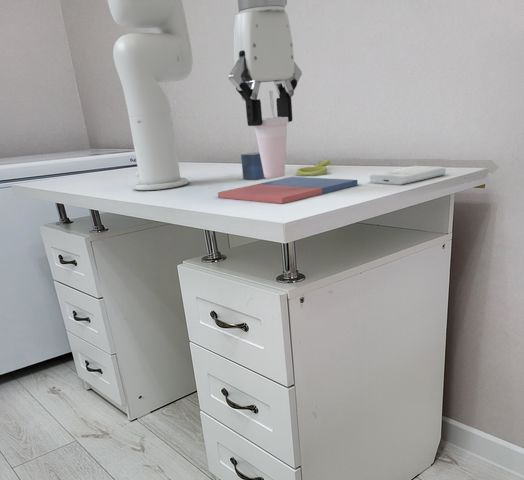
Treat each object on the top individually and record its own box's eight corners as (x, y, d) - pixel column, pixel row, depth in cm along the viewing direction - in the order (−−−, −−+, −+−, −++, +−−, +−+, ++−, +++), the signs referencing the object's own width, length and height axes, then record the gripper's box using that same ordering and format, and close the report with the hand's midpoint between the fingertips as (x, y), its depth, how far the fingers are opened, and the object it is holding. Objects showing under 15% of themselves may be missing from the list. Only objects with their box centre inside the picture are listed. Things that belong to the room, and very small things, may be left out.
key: (330, 168, 132) (330, 159, 131) (326, 175, 121) (325, 165, 120) (301, 170, 134) (301, 161, 133) (294, 177, 123) (293, 167, 122)
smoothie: (280, 178, 94) (274, 90, 88) (250, 179, 97) (242, 93, 91) (298, 173, 99) (293, 88, 93) (268, 173, 102) (262, 92, 96)
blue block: (243, 179, 127) (240, 154, 125) (257, 176, 130) (255, 152, 127) (255, 179, 124) (253, 154, 122) (270, 176, 127) (268, 152, 124)
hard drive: (445, 175, 105) (402, 185, 99) (411, 173, 111) (369, 182, 105) (445, 166, 104) (403, 175, 98) (411, 165, 110) (369, 173, 104)
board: (218, 197, 104) (217, 192, 104) (292, 181, 116) (291, 176, 115) (282, 203, 92) (281, 197, 91) (357, 185, 103) (357, 179, 103)
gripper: (284, 10, 95) (290, 120, 102) (204, 6, 85) (218, 129, 92) (315, 1, 89) (319, 118, 97) (234, -4, 79) (246, 127, 87)
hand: (270, 122), depth 94 cm, fingers closed on smoothie, 6 cm apart
